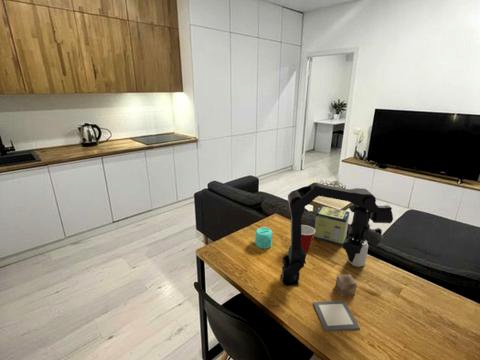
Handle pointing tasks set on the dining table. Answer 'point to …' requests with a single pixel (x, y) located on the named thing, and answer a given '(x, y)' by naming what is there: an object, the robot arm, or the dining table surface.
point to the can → (360, 256)
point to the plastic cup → (306, 236)
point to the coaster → (335, 316)
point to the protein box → (331, 225)
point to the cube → (346, 285)
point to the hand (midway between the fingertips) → (354, 256)
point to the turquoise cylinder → (263, 238)
